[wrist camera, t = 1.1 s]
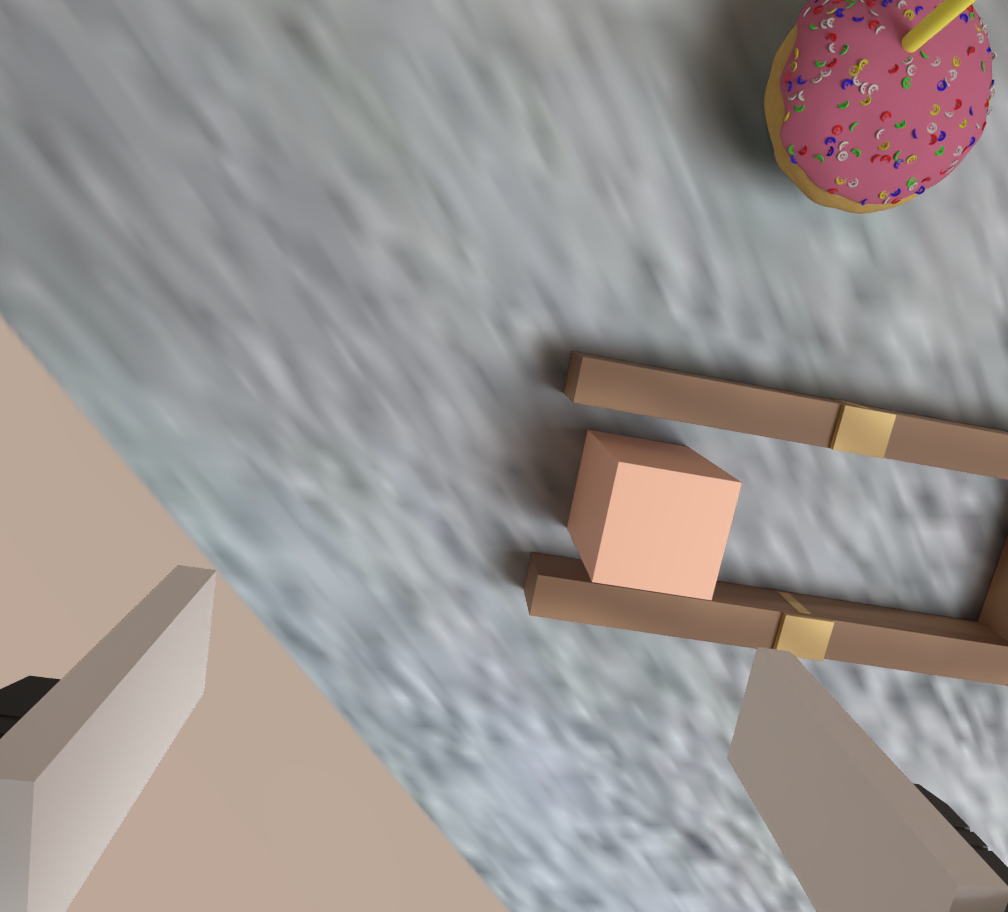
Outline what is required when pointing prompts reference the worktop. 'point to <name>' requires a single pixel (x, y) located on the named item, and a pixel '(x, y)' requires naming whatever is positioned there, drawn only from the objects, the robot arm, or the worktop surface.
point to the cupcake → (878, 98)
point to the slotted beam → (771, 613)
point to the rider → (651, 515)
